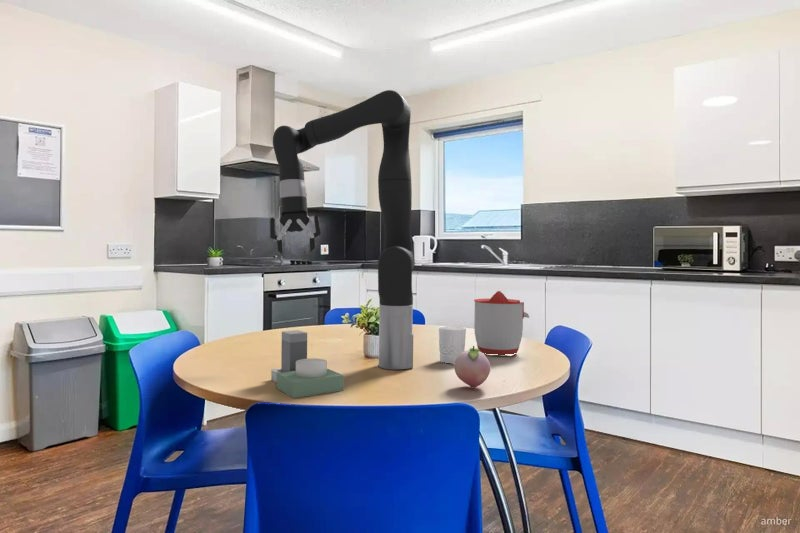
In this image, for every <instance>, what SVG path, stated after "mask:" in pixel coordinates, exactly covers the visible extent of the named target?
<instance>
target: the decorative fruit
mask: <svg viewBox="0 0 800 533" xmlns="http://www.w3.org/2000/svg"><path fill="white" fill-rule="evenodd" d="M453 365H454V366H453V368H454V372H455V375H456V377H457V378H458V379H459V380H460V381H462V382H463V383H464V384H466V385H467V386H469V387H471V388H472V387H475V388H478V387H479V386H482V384H484V383H485V382H486V381H487V379H488V377H489V375H490V373H491V363H490V361H489V359H488V357H487V356H486V354H483V353H482V352H480V350H479V349H478V348H475V345H473V346H472V347H471V348H469V349H468V350H464V352H462V353H460V354H459V355H458V356H457V358H456V360H455V364H453Z"/></svg>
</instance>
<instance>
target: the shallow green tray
mask: <svg viewBox="0 0 800 533" xmlns="http://www.w3.org/2000/svg"><path fill="white" fill-rule="evenodd" d="M270 376H271V377H270V378H271V381H273V382H275V383H276V389H278V390H280V391H281V392H282V393H285V394H287V395H288V396H290V397H292V398H293V399H297V398H298V399H299V398H304V397H311V396H316V395H322V394H323V395H324V394H330V393H335V392H342V391H344V389H345V388H344V387H345V386H344V384H345V383H344V378H345V375H344V374H342V373H340V372H336V371H334V370H331V369H329V368H328V361H327V359H323V358H315V357H314V358H313V357H311V358H307V359H301V360H297V361H296V371H288V372H281V368H274V369H273V368H272V369H271V375H270Z"/></svg>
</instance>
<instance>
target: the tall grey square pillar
mask: <svg viewBox="0 0 800 533" xmlns="http://www.w3.org/2000/svg"><path fill="white" fill-rule="evenodd" d="M301 359H308V332H306V331H303V330H300V329H299V330H297V329H295V330H285V331H284V330H283V331H281V362H280V364H281V365H280V366H281V367H280V369H281V372H288V371H296V361H297V360H301Z"/></svg>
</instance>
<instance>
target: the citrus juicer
mask: <svg viewBox="0 0 800 533" xmlns="http://www.w3.org/2000/svg"><path fill="white" fill-rule="evenodd" d="M473 302H474V325H473V327H474V336H475V341H476V346H477V349H479V350H480V352H482V353H486V354H498V355H505V354H514V353H518V351H519V350H520V345H521V343H522V342H521V341H522V338H523V329H524V318H529V319H530V315H529V313H527V312H526V311H525V302H524V301H522V302H521V300H520V299H513V298H512V299H511V298H510V299H509V298H507V297H506V295H505V294H504V293H503V292H502V291H500V290H497V291H496V292H495V293H494V294H493V295H492V296H491V297H490V298H476V299H474V300H473ZM486 354H485V355H486Z"/></svg>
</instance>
